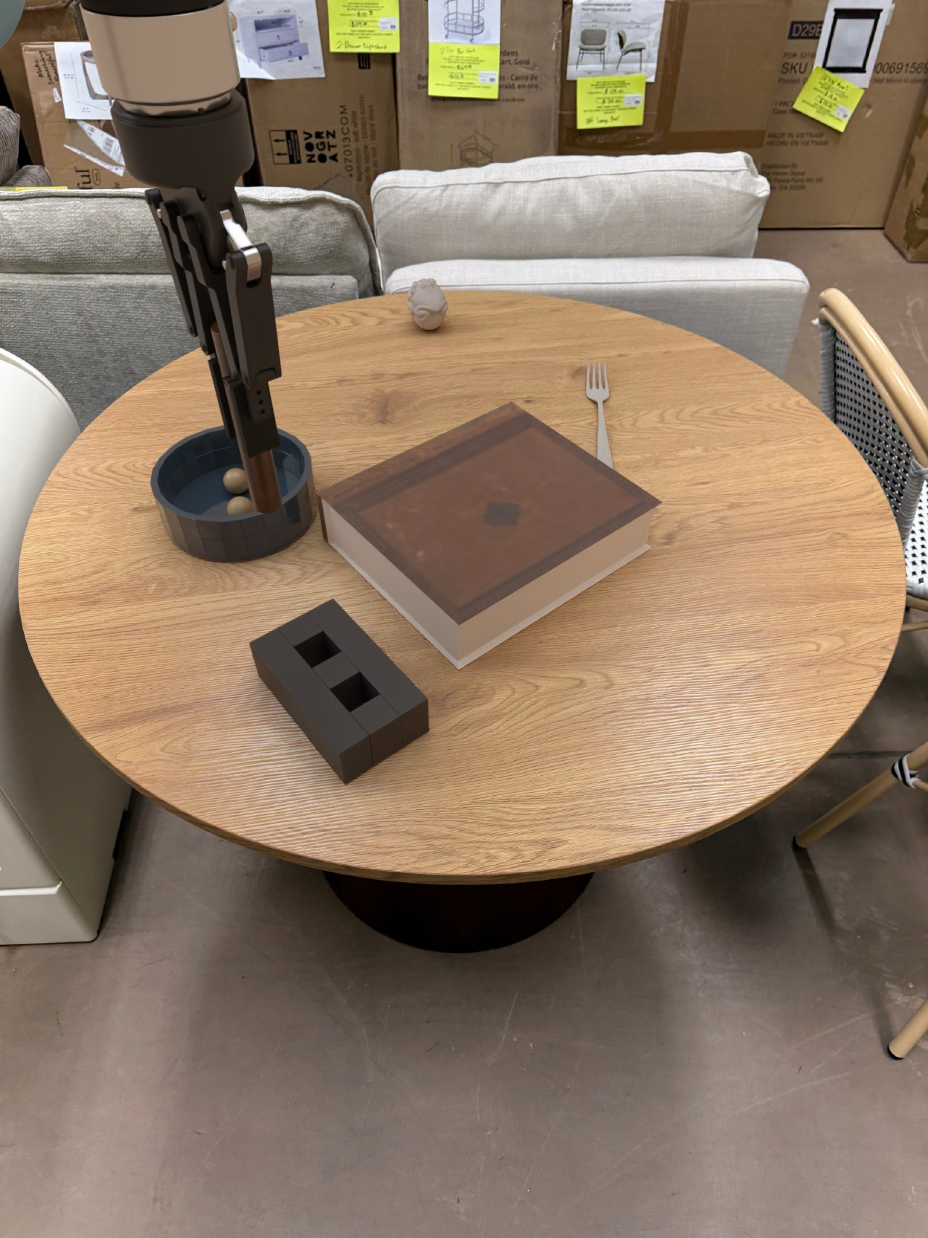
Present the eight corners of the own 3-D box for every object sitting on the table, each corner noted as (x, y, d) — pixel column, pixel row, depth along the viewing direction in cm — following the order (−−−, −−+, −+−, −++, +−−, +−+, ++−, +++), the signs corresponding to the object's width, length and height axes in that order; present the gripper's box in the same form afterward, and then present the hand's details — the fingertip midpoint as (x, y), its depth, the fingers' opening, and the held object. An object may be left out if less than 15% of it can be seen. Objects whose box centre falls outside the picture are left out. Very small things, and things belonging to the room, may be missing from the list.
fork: (592, 477, 100) (594, 466, 98) (584, 371, 116) (585, 360, 115) (618, 478, 100) (621, 467, 98) (606, 372, 116) (608, 361, 115)
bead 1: (233, 502, 95) (228, 482, 93) (221, 489, 96) (216, 469, 94) (256, 492, 96) (251, 472, 94) (244, 479, 98) (239, 459, 95)
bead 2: (237, 532, 91) (232, 511, 89) (225, 518, 93) (219, 497, 91) (261, 521, 93) (256, 500, 90) (248, 507, 94) (243, 487, 92)
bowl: (208, 585, 87) (195, 544, 82) (139, 502, 96) (124, 460, 92) (346, 518, 94) (341, 477, 90) (271, 447, 103) (262, 406, 99)
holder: (345, 785, 71) (339, 754, 67) (258, 675, 79) (248, 642, 75) (429, 730, 75) (428, 698, 71) (338, 631, 83) (333, 597, 79)
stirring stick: (261, 517, 67) (220, 338, 55) (248, 502, 68) (204, 323, 56) (287, 506, 68) (251, 327, 56) (273, 491, 69) (235, 313, 57)
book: (323, 538, 92) (315, 492, 87) (508, 445, 104) (511, 401, 99) (458, 669, 79) (458, 625, 75) (651, 547, 91) (663, 502, 87)
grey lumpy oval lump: (436, 312, 127) (435, 268, 122) (456, 332, 123) (456, 287, 118) (400, 320, 125) (398, 276, 120) (419, 341, 121) (418, 296, 116)
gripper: (303, 116, 43) (347, 471, 61) (180, 52, 52) (249, 381, 69) (171, 146, 40) (257, 510, 58) (62, 72, 48) (166, 411, 66)
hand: (253, 439), depth 63 cm, fingers closed on stirring stick, 2 cm apart
